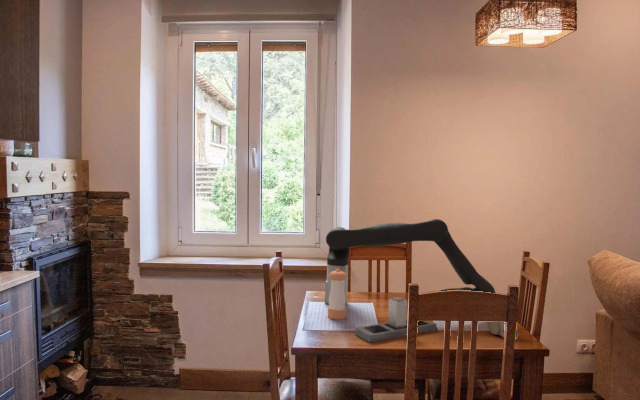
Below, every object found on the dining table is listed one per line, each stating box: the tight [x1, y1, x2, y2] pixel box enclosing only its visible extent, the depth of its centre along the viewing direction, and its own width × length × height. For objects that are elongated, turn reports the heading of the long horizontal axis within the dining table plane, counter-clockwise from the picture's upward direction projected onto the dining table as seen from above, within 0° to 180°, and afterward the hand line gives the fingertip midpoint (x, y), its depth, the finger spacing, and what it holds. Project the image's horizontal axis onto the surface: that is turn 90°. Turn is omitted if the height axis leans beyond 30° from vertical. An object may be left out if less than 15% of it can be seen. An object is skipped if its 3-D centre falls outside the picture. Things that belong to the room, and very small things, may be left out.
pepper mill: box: [327, 269, 347, 320], centre depth 190 cm, size 7×7×19 cm
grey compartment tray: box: [354, 318, 438, 344], centre depth 174 cm, size 30×9×2 cm, turn 119°
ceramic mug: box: [487, 321, 519, 339], centre depth 173 cm, size 11×8×8 cm
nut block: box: [387, 296, 408, 330], centre depth 173 cm, size 4×4×13 cm
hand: (420, 302), depth 179 cm, fingers open, 8 cm apart
